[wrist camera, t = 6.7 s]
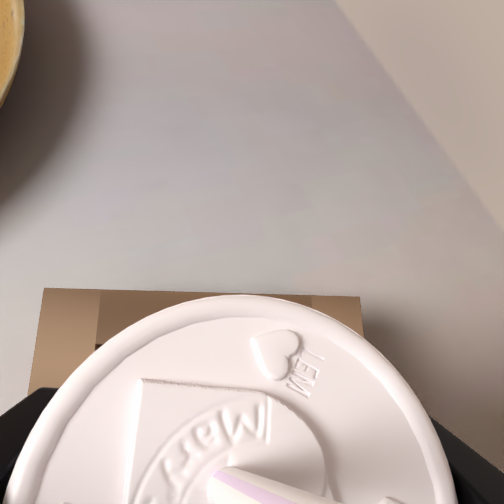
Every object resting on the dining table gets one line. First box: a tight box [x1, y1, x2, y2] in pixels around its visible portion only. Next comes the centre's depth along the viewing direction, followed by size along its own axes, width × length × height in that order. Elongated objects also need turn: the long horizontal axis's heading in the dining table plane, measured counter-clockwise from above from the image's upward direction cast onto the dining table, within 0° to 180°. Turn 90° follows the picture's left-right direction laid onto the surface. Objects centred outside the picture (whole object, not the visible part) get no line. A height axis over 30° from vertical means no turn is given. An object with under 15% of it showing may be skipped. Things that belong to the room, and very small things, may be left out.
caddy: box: [28, 288, 364, 396], centre depth 18 cm, size 12×12×4 cm
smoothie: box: [2, 295, 458, 504], centre depth 9 cm, size 6×6×14 cm
